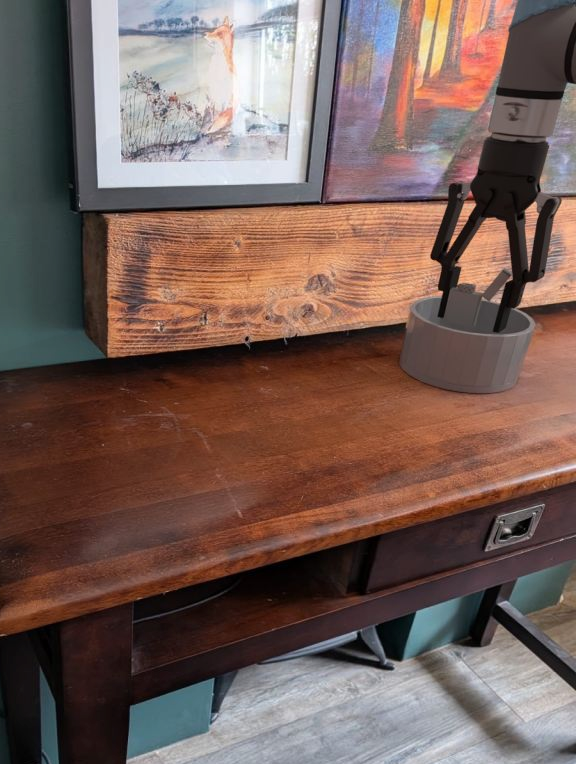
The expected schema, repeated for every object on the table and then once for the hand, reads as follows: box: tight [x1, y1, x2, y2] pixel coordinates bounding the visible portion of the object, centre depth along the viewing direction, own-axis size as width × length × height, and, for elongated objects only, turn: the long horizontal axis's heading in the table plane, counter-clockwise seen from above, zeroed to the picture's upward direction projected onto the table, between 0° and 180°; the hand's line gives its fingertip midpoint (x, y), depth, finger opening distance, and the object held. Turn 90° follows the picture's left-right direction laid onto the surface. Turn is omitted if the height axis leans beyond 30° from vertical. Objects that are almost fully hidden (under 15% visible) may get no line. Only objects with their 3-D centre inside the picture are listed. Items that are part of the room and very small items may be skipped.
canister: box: [398, 295, 536, 394], centre depth 104 cm, size 16×16×8 cm
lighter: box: [443, 267, 512, 327], centre depth 100 cm, size 7×2×8 cm, turn 61°
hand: (470, 322), depth 102 cm, fingers closed on lighter, 7 cm apart
